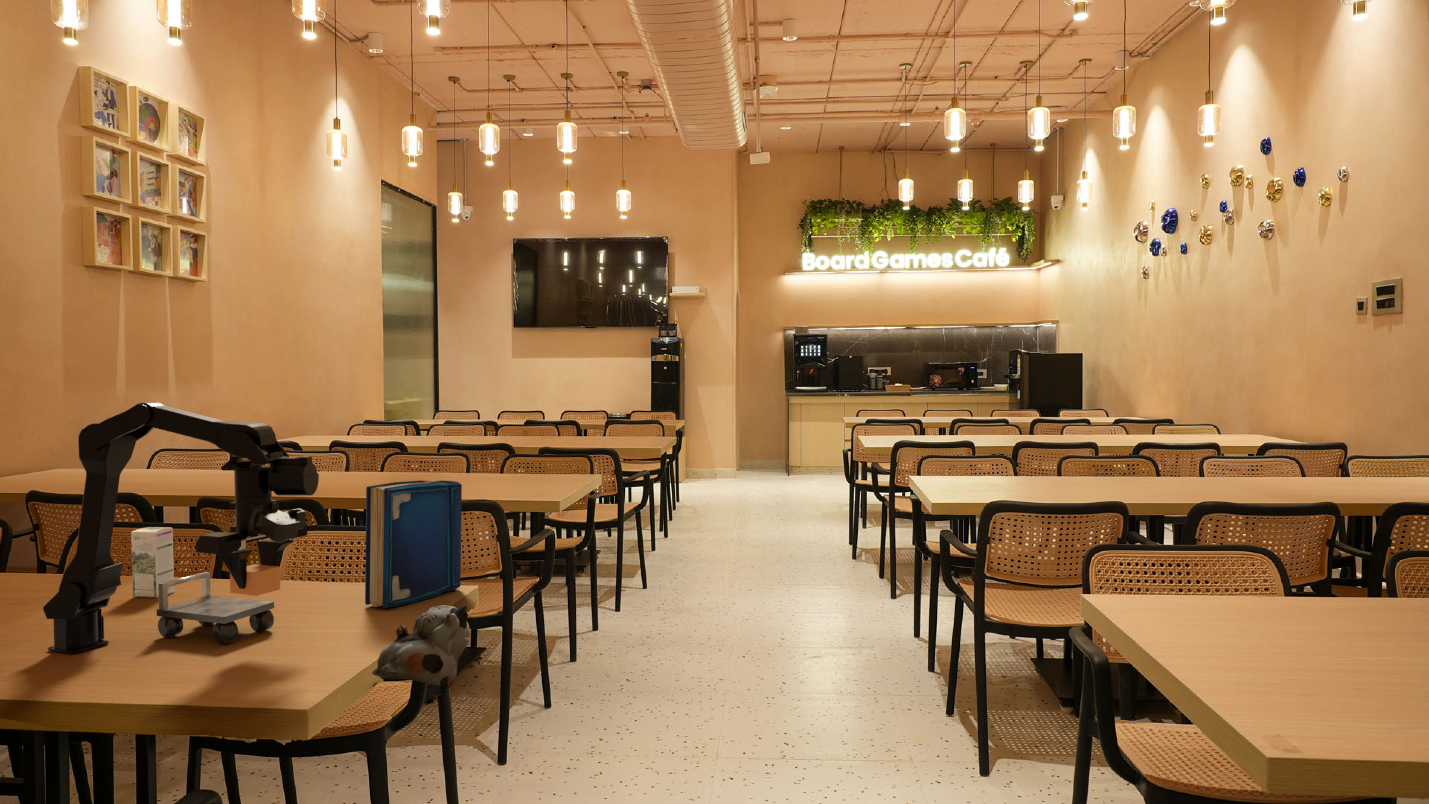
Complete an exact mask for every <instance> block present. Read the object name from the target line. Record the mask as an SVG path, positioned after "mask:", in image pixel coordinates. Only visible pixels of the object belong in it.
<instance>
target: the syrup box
mask: <svg viewBox="0 0 1429 804" xmlns="http://www.w3.org/2000/svg"><path fill="white" fill-rule="evenodd" d="M173 531H174V530H173V527H167V526H165V527H162V526H159V527H158V526H155V527H154V526H153V527H152V526H150V527H148V526H147V527H146V526H145V527H141V528H138V529H135V530H133V531H130V532H131V533H130V536H131V543H130V544H131V568H132V569H131V572H132V597H133V598H144V599H145V598H147V599H148V598H150V599H151V598H152V599H155V598H157V599H159V583H163V582H167V581H171V580H175V576H174V575H175V574H174V573H175V571H174V569H175V568H174V565H175V564H174V532H173ZM172 593H175V585H174V586H170V587H168V595H170V594H172Z"/></svg>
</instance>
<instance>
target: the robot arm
mask: <svg viewBox="0 0 1429 804" xmlns="http://www.w3.org/2000/svg"><path fill="white" fill-rule="evenodd" d="M153 429H158V430H161V431H165V432H170V433H174V434H177V435H181V436H185V437H189V438H192V439H196V440H200V441H205V442H208V443H210V444H213V445H214V446H216V447H217V448H218V449H220V450H222V451H223V452H225V453H227V454H230V455H231V456H230V458H229V460H228V461H227V462H225V463H224V464H223V465H222V466H221V467H220V469H221V471H223V472H224V471H225V472H226V471H233V473H234V474H233V475H234V478H233V479H234V501H233V502H229V509H231V510H233V509H234V518H235V521H234V522H235V525H231V526H229V532H222V531H216V532H211V533H207V534H201V535H199V536H198V538H197V539H196V540H195V552H196V553H197V554H198V553H199V554H213V555H218V557H219V558H220V560H222V562H223V564H225V566H226V567H227V570H228V571H229V574H230V573H231V575H232V576H233V578H234V580H235V582H236V583H237V585H238V587H239V588H240V589H245V588H246V580H247V566H248V563H247V562H248V561H247V560H248V557H249V556H250V554H251V553H252V551H253V550H252V549H247V545H246V544H249V543H251V542H252V543H253V542H256V543H257V549H258V550H257V551H258V555H259V561H260V565H268V566H277V565H278V563H279V560H280V558H281V555H282V552H283V551H284V550H285V549H286V548H287V547H288V546H289V545H291V544H293V543H294V541H295V540H294V539H296V538H298V539H299V538H302V537H306V536H308V525H307V523H306V522H307V518H306V517H307V516H306V510H304V509H302V508H300V507H299V508H295V509H294V508H293V509H291V510H290V511H287V510H286V511H281V510H280V508H279V507H280V504H279V502H278V500H277V499H273V496H272V494H273V493H274V495H276V496H282V497H283V496H287V497H291V496H292V497H293V496H302V497H303V496H304V497H305V496H313V495H315V493H316V491H317V489H318V488H319V487H318V486H319V480H320V479H319V478H320V477H319V473H318V471H317V467H316V465H315V464H314V463H313V457H312V456H311V455H304V456H297V457H293V456H292V457H290V455H289V454H288V453H287V451H286V450H285V448H284V447H283V446H282V445H281V444H280V442H279V441H278V440H277V435H276V433H275V431H274V429H273V427H272V426H271V425H270V424H267V423H263V422H255V421H235V420H231V421H230V420H222V419H220V418H215V417H210V416H206V415H202V414H198V413H195V412H192V411H188V410H183V409H180V408H176V407H171V406H168V405H164V404H163V403H160V402H155V401H151V402H139V403H136V404H135V405H133V406H132V407H130V408H128V409H126V410H125V411H122V412H120V413H118V414H116V415H114V416H111V417H109V418H106V419H104V420H102V421H100V422H97V423H91V424H87V425H86V426H85V427H83V428H82V429H81V430H80V431H79V434H78V438H77V444H78V445H77V446H78V447H77V448H78V459H79V461H80V462H81V465H82V466H83V469H84V470H85V482H84V490H83V496H82V504H81V513H80V520H79V526H78V527H79V528H78V534H77V542H76V549H75V550H76V551H75V554H74V557H73V558H72V559H71V561H70V562H69V564H68V565H67V566H66V568H65V569H64V571H63V574H62V577H61V579H60V580H61V581H60V583H59V586H58V592H57V593H55V595H53V597H52V598H51V599H50V600H48V601H47V603H46V604H45V605H43V607H42V610H43V613H44V615H45V617H46V619H48V620H53V646H49V647H47V651H49V652H55V653H56V652H57V653H63V654H71V655H74V654H77V653H81V652H85V651H88V650H91V649H95V648H98V647H102V646H105V645H108V644H109V640H105V618H104V615H102V609H103V608H106V607H107V606H108V605H109V602H110V599H111V596H113V595H114V594H115V593H116V591H117V589H118V587H119V586H122V581H121V574H122V570H123V563H121V562H120V563H119V562H118V563H117V562H114V559H113V558H112V556H111V547H112V540H113V531H114V530H113V529H114V526H115V525H114V523H115V518H116V517H115V516H116V510H117V509H116V508H117V500H118V493H119V486H120V479H121V478H120V477H121V474H122V472H123V471H124V469H125V468H126V466H127V464H128V463H129V462H130V460H131V459H132V455H133V453H134V450H135V447H136V444H137V441H139V440H141V439H142V438H144V437H146V436H147V435H148V434H150V433H151V431H152V430H153Z"/></svg>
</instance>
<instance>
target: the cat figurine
mask: <svg viewBox="0 0 1429 804" xmlns="http://www.w3.org/2000/svg"><path fill="white" fill-rule="evenodd" d="M467 608H468V605H467V604H463V605H461V606H460V607H459V608H458V607H455V606H453V605H451V606H450V605H443V604H442V605H437V606H431V607H430V608H428V610H426V612H423V613H422V614H420V615H419V616H418V617H417V618H416V620H415V622H414V624H413V628H412V633H409V631H408V628H407V626H405V625H403V624H400V625H399V626H398V628H396V629H395V633H396V636H397V637H396V639H394V641H393V642H391V644H387V645H386V646H385V647H384V648H383V649H382V650H381V652H380V654H379V656H378V658H377V659H378V660H377V667H376V668H374V669H373V670H372V672H371V674H372V676H375V677H379V678H381V680H383V681H386V680H388V679H396V680H398V679H399V680H411V681H414V682H416V683H417V682H418V683H422V684H424V685H425V684H426V685H429V686H434V687H440V688H441V689H442V690H446V689H450V688H451V687H452V686H453V685H454V683H455V681H456V678H457V671H458V662H459V659H460V657H461V655H462V654H463V652H464V650H465V649H466V648H467V647H468V645H469V643H470V639H471V638H470V637H469V634H470V632H471V631H470V630H471V629H470V625H469V623H468V617H469V614H468V611H467Z"/></svg>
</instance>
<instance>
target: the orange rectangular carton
mask: <svg viewBox="0 0 1429 804" xmlns="http://www.w3.org/2000/svg"><path fill="white" fill-rule="evenodd" d="M279 590H281V567H280V566H279V565H278V566H268V565H261V564H258V563H257V564H256V563H253V564H249V565H247V580H246V588H245V589H240V588H239V587H238V585H237V583H236V582H235V580H234V578H233V576H232V575H231V573H230V572H229V592H230V594H236V595H244V596H245V595H246V596H254V597H257V596H261V595H265V594H269V593H271V592H276V591H279Z"/></svg>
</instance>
